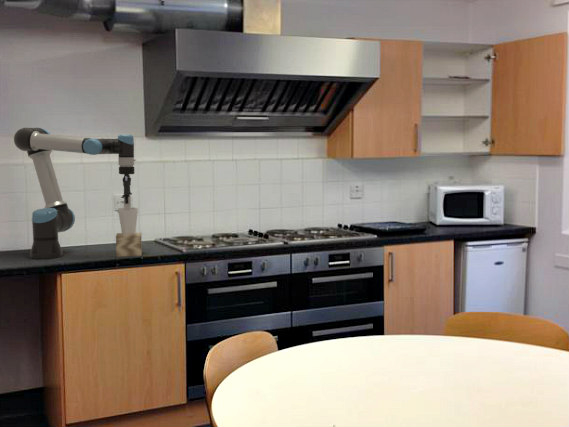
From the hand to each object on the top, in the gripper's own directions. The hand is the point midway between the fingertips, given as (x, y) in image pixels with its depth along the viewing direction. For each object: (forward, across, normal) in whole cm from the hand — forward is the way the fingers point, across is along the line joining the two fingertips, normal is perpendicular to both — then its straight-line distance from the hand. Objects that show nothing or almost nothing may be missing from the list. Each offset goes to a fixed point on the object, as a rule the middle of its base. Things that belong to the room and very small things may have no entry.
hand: (127, 209), depth 362 cm
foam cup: (+13, 0, 0) cm, 13 cm away
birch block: (+23, 0, 0) cm, 23 cm away
